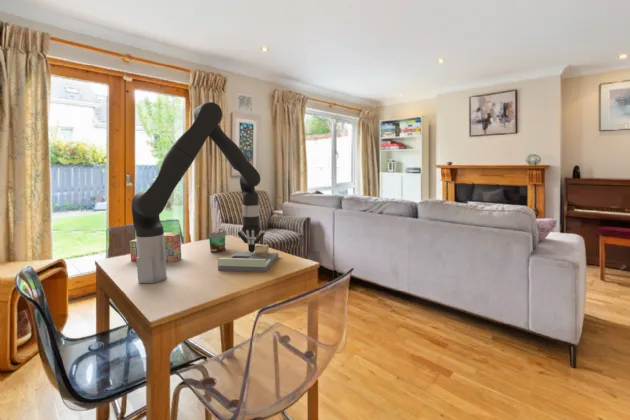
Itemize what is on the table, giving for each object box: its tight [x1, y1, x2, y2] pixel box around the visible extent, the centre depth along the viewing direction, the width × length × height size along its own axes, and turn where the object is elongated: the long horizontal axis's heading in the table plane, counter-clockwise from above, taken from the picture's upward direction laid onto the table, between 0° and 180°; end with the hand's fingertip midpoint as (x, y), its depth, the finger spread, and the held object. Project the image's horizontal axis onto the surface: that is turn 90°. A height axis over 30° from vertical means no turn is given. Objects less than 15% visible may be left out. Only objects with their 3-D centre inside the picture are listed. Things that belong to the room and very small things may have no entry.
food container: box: [208, 228, 228, 254], centre depth 166 cm, size 12×6×10 cm, turn 171°
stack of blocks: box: [128, 232, 182, 263], centre depth 151 cm, size 21×6×12 cm, turn 83°
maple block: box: [254, 244, 270, 256], centre depth 151 cm, size 5×5×4 cm
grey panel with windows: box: [217, 251, 279, 273], centre depth 144 cm, size 22×20×5 cm
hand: (252, 251), depth 152 cm, fingers closed
